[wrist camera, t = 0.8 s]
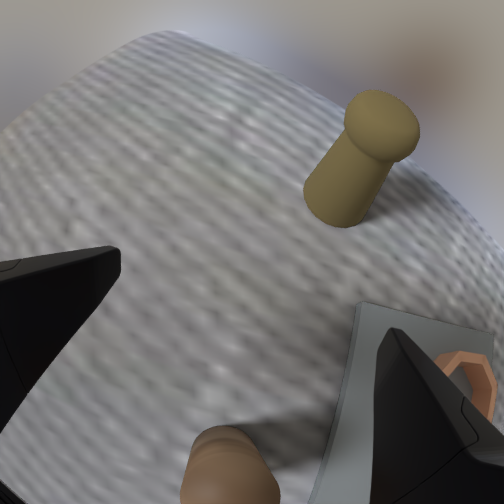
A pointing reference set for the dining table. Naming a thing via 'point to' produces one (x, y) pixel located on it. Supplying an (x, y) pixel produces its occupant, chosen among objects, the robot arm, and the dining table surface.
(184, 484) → the walnut cylinder
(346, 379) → the slate board
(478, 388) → the terracotta ring
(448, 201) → the dining table surface
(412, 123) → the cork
